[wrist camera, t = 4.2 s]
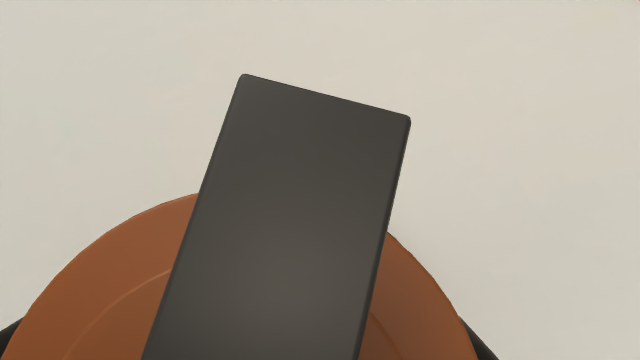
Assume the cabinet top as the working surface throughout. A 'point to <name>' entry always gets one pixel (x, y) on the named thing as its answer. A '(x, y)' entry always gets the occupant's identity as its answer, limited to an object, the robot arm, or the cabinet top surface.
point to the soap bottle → (260, 253)
